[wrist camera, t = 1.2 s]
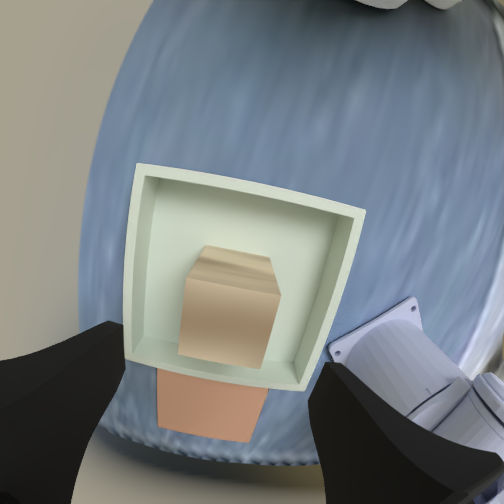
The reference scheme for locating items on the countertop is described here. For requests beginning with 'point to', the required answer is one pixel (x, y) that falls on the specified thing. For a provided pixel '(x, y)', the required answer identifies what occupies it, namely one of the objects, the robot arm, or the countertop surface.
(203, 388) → the terracotta tile
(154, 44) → the countertop surface
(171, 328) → the pale green bin
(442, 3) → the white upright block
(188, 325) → the birch block
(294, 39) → the countertop surface
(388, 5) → the cup
